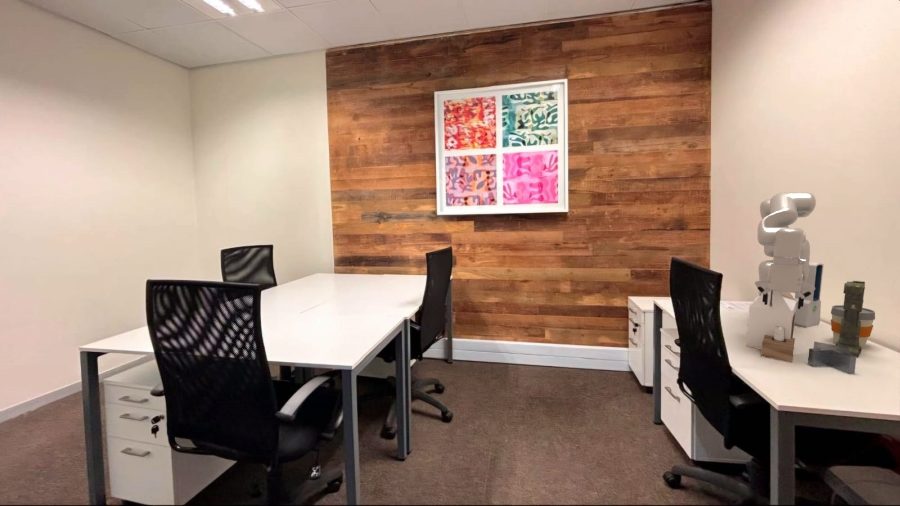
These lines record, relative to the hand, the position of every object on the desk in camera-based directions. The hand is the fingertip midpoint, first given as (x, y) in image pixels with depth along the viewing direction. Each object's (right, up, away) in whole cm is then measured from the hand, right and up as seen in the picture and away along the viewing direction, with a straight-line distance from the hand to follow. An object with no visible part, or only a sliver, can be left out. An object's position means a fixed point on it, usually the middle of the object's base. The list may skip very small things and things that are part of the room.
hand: (782, 306), depth 147 cm
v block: (+11, -20, -7) cm, 24 cm away
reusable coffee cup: (+38, -18, +12) cm, 43 cm away
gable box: (+8, -18, +15) cm, 25 cm away
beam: (+1, -19, +3) cm, 19 cm away
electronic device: (+44, -14, +39) cm, 60 cm away
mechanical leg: (+29, -19, +4) cm, 35 cm away
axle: (+1, -19, +3) cm, 19 cm away
